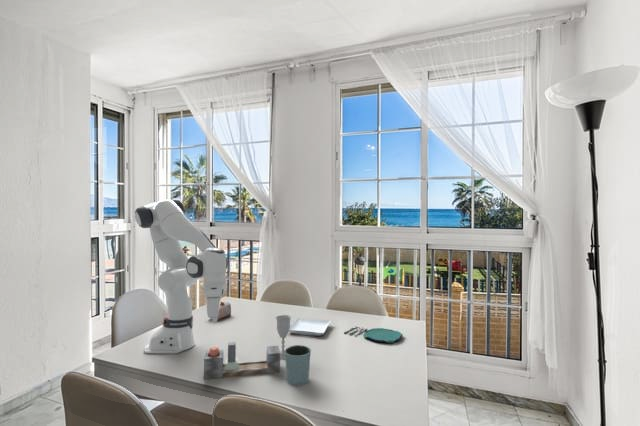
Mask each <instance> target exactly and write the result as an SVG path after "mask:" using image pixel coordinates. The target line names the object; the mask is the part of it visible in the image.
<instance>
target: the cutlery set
mask: <svg viewBox="0 0 640 426" xmlns="http://www.w3.org/2000/svg"><path fill="white" fill-rule="evenodd" d="M360 327H361V326H360ZM360 327H358V328H359V329H360V330H361V331H358V330H359V329H355V328H353V327H351V328H350V329H349V330H346V331H343V334H344V335H346V334H347V332H348V333H349V331H350V333H349V335H350V336H351V335H353V334H354V337H355V336H356V337H357V336H358V335H360V333H361V334H362V333H363V334H362V337H363V338H364V339H366V338H368V339H370V340H372V341H375V342H381V343H382V342H383V343H388V344H392V343H394V342H398V341H400V340H401V339H402V338H403V333H401V332H400V331H397V330H393V329H388V328H382V327H376V328H371V329H367V328H365V329H364V327H363V326H362V328H363V329H361V328H360ZM353 329H355V330H353ZM366 329H367V330H366ZM365 330H366V331H365ZM351 331H352V332H351ZM356 332H358V333H356ZM355 333H356V334H355Z"/></svg>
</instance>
